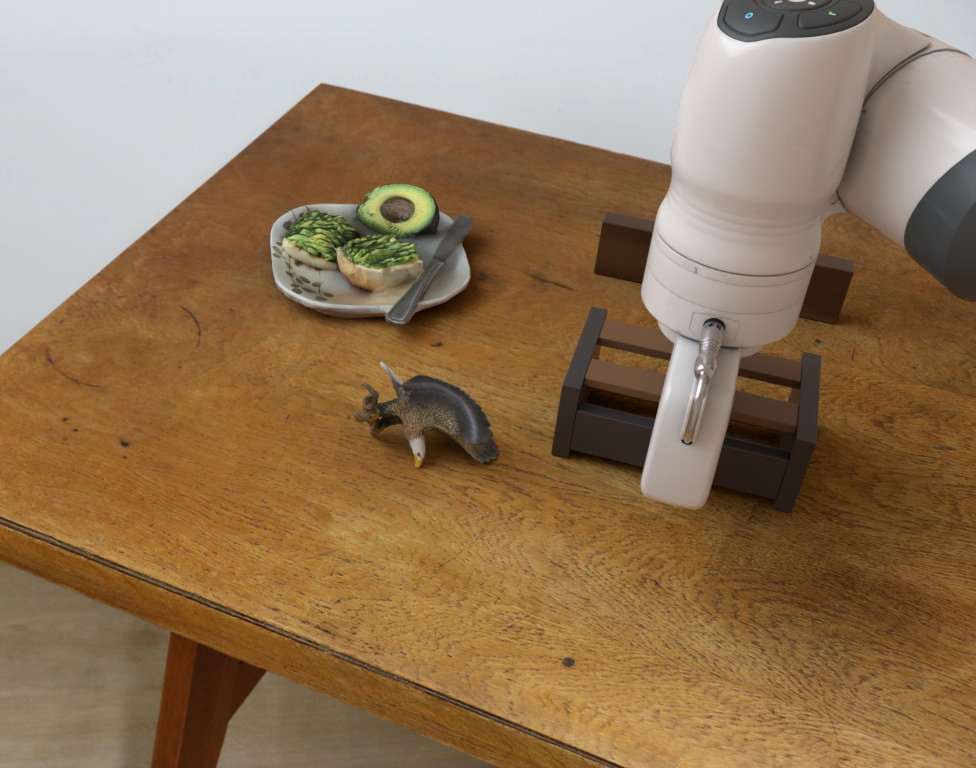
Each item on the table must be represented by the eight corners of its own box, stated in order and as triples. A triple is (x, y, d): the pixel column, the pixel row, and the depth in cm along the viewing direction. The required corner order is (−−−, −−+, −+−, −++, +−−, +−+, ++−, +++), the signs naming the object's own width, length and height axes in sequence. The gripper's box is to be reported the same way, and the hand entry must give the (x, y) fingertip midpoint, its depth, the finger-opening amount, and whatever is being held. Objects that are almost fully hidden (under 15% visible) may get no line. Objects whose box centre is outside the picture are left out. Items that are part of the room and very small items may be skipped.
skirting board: (598, 262, 96) (607, 210, 93) (836, 312, 91) (854, 260, 88) (593, 273, 95) (602, 221, 92) (836, 324, 90) (854, 272, 87)
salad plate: (500, 340, 86) (506, 290, 83) (269, 344, 84) (267, 293, 82) (466, 218, 101) (470, 172, 99) (269, 219, 100) (268, 172, 97)
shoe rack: (579, 372, 83) (591, 306, 80) (798, 422, 80) (821, 355, 76) (550, 454, 76) (562, 384, 72) (791, 513, 72) (816, 443, 68)
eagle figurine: (354, 476, 71) (494, 473, 70) (348, 366, 71) (488, 359, 69) (378, 460, 79) (504, 456, 77) (372, 360, 78) (499, 354, 77)
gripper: (768, 398, 54) (707, 591, 62) (792, 210, 69) (741, 385, 78) (638, 368, 55) (596, 561, 64) (690, 191, 71) (651, 365, 79)
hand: (676, 463), depth 71 cm, fingers closed
